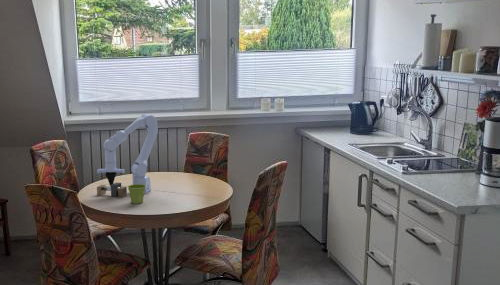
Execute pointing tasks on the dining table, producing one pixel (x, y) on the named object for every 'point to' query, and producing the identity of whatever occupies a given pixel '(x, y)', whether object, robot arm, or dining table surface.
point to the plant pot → (136, 193)
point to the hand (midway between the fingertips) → (111, 185)
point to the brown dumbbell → (103, 188)
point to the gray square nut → (115, 189)
